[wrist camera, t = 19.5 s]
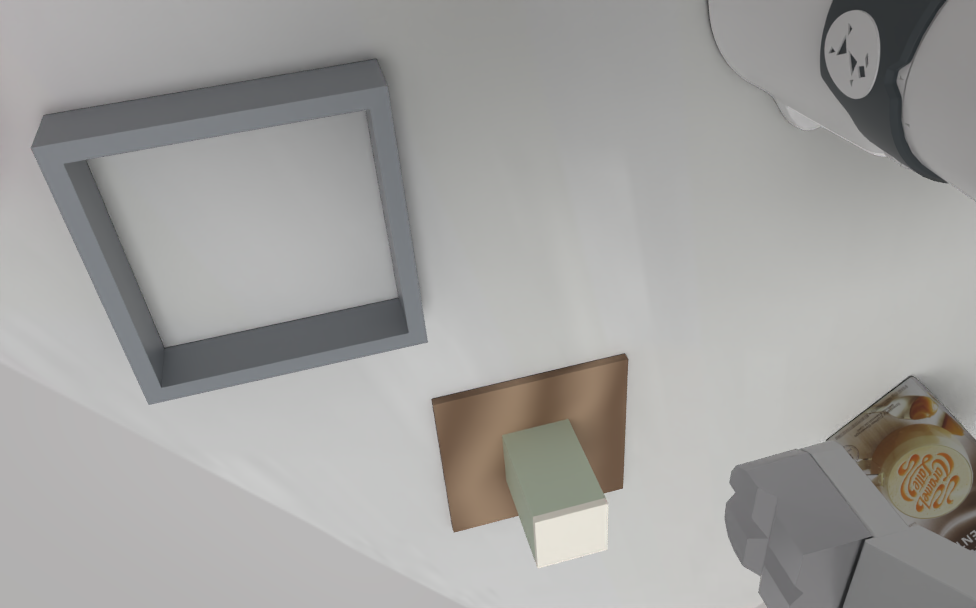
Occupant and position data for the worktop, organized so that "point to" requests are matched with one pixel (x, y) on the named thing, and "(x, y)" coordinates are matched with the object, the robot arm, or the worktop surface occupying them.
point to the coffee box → (918, 460)
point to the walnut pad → (522, 405)
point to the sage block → (555, 493)
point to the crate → (211, 115)
